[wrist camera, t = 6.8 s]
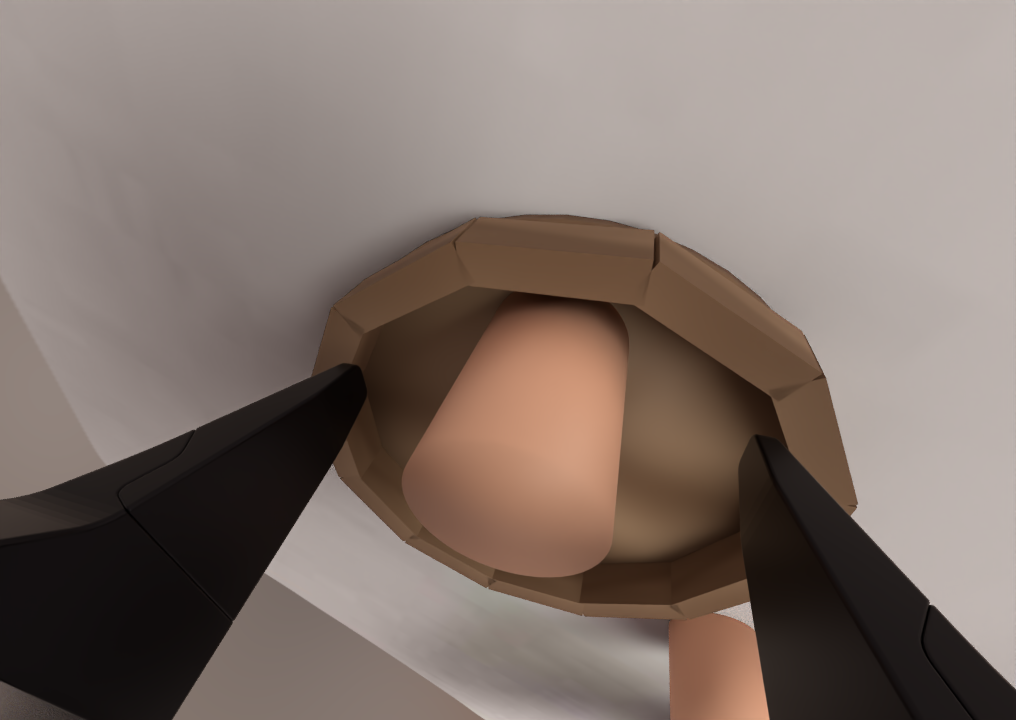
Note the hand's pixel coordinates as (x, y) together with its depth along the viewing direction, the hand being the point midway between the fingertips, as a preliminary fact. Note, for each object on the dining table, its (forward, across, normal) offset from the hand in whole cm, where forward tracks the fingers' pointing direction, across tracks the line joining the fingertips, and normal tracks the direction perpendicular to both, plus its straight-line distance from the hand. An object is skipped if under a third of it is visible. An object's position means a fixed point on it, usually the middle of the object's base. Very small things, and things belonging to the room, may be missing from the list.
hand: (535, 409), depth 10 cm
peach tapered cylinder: (+3, -8, +15) cm, 18 cm away
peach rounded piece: (+3, 0, 0) cm, 3 cm away
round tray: (+3, 0, +4) cm, 5 cm away
